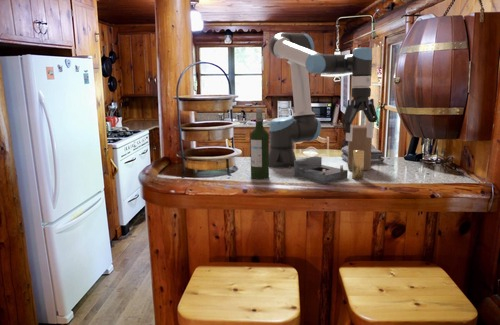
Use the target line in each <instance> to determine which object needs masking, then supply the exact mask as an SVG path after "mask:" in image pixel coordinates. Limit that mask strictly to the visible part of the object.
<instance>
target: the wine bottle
mask: <svg viewBox="0 0 500 325" xmlns="http://www.w3.org/2000/svg"><path fill="white" fill-rule="evenodd" d="M255 112H256V113H255V127H254V129H253V130H251V132H250V135H249V136H250V138H249V139H250V178H252V179H253V180H265V179H266V180H267V179H269V178H270V177H269V176H270V166H269V151H270V133H269V132H268V131H267V130H266V129H265V128H264V122H263V108H262V107H257V108H256V109H255Z"/></svg>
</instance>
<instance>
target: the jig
mask: <svg viewBox="0 0 500 325" xmlns="http://www.w3.org/2000/svg"><path fill="white" fill-rule="evenodd" d="M322 158H323V157H322V156H318V155H317V156H310V157H305V158H300V159H296V160H294V166H293V167H294V171H293V176H294V177H298V178H301V179H304V180H305V179H306V180H310V181H311V182H312V181H313V182H315V183H320V184H323V183H326V184H329V183H334V182H338V181H342V180H346V179H348V175H349V174H348V171H349V169H348V170H347V169H344V165H343V164H340V166H339V168H338V167H333V166H328V165H324V164H322V161H323V160H322Z"/></svg>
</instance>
